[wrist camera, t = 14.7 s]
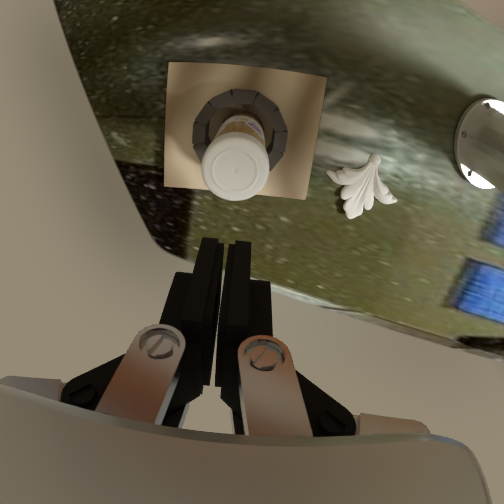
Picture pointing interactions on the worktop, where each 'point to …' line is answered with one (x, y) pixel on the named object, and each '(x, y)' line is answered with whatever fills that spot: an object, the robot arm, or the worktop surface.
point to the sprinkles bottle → (237, 158)
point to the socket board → (242, 99)
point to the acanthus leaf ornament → (361, 187)
